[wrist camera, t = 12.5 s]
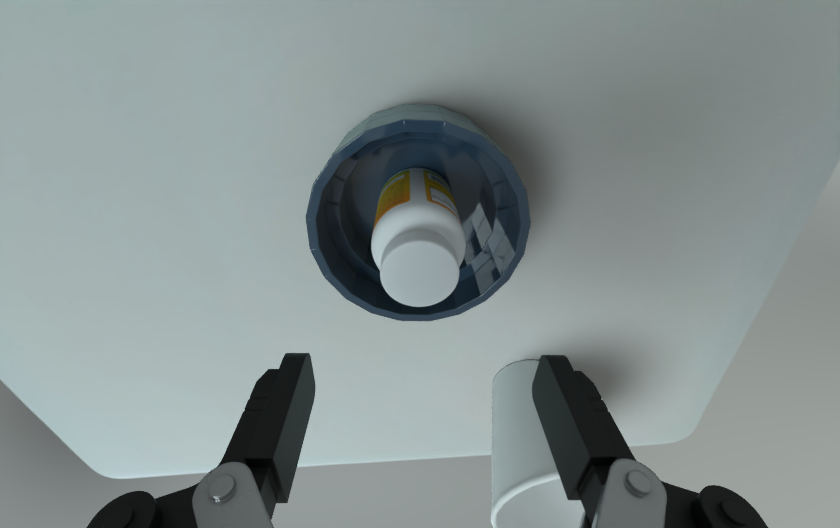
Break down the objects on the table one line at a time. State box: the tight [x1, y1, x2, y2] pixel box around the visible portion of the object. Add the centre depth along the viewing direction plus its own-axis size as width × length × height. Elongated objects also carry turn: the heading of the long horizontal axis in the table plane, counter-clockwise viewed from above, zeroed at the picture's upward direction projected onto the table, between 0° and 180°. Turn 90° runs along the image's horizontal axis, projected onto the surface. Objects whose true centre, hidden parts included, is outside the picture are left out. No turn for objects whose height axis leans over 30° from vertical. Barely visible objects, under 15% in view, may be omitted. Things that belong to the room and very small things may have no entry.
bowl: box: [306, 104, 531, 321], centre depth 24 cm, size 13×13×6 cm
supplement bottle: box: [371, 168, 466, 307], centre depth 22 cm, size 5×5×10 cm
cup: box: [490, 360, 585, 528], centre depth 32 cm, size 12×12×12 cm
